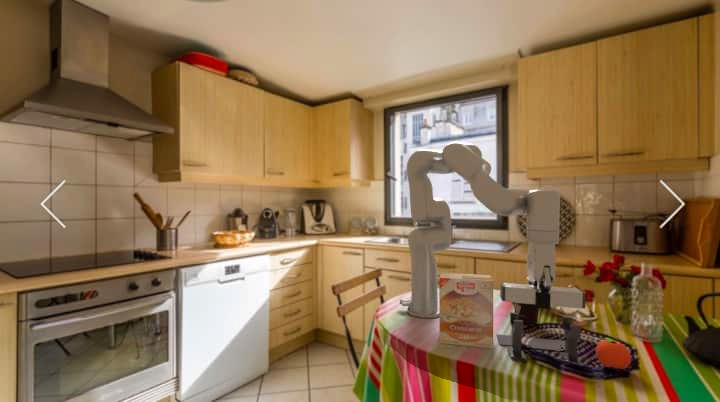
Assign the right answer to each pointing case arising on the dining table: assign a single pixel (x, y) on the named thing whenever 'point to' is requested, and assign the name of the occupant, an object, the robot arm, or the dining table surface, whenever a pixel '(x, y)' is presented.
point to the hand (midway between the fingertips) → (540, 304)
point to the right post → (570, 340)
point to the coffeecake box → (466, 309)
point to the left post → (516, 338)
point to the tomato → (613, 354)
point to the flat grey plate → (534, 343)
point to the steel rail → (528, 292)
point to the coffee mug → (527, 313)
